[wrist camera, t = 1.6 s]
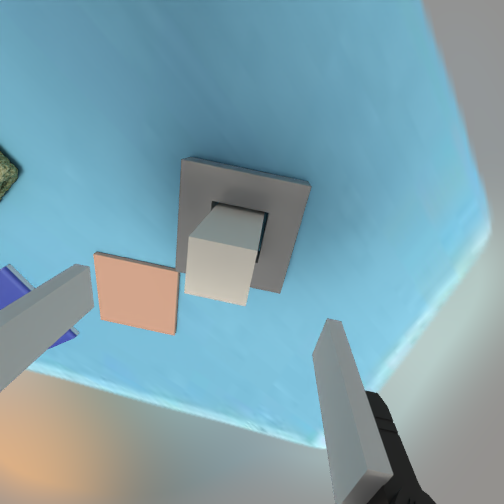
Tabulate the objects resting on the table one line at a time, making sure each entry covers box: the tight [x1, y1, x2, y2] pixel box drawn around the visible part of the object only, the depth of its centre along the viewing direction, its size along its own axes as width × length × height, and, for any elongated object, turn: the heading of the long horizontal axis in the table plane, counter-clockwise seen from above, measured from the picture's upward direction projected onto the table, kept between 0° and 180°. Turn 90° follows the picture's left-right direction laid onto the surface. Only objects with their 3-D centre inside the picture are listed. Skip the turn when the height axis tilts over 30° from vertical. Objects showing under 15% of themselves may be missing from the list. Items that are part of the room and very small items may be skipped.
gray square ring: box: [175, 157, 311, 293], centre depth 24 cm, size 11×11×2 cm
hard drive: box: [0, 264, 79, 350], centre depth 34 cm, size 2×8×12 cm
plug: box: [184, 202, 265, 306], centre depth 21 cm, size 4×4×10 cm
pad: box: [93, 252, 180, 335], centre depth 31 cm, size 10×10×1 cm
